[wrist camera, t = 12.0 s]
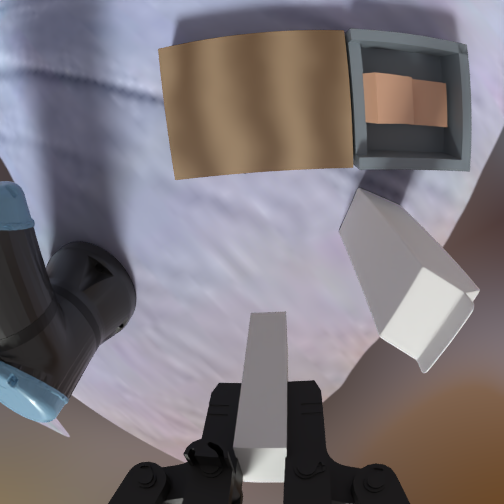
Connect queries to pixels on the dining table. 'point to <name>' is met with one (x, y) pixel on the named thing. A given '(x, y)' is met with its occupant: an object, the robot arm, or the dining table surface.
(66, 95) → the dining table surface
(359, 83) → the tray
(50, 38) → the dining table surface
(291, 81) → the board
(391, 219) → the milk
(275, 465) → the robot arm
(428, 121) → the tile
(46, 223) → the dining table surface
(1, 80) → the dining table surface
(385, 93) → the tile
